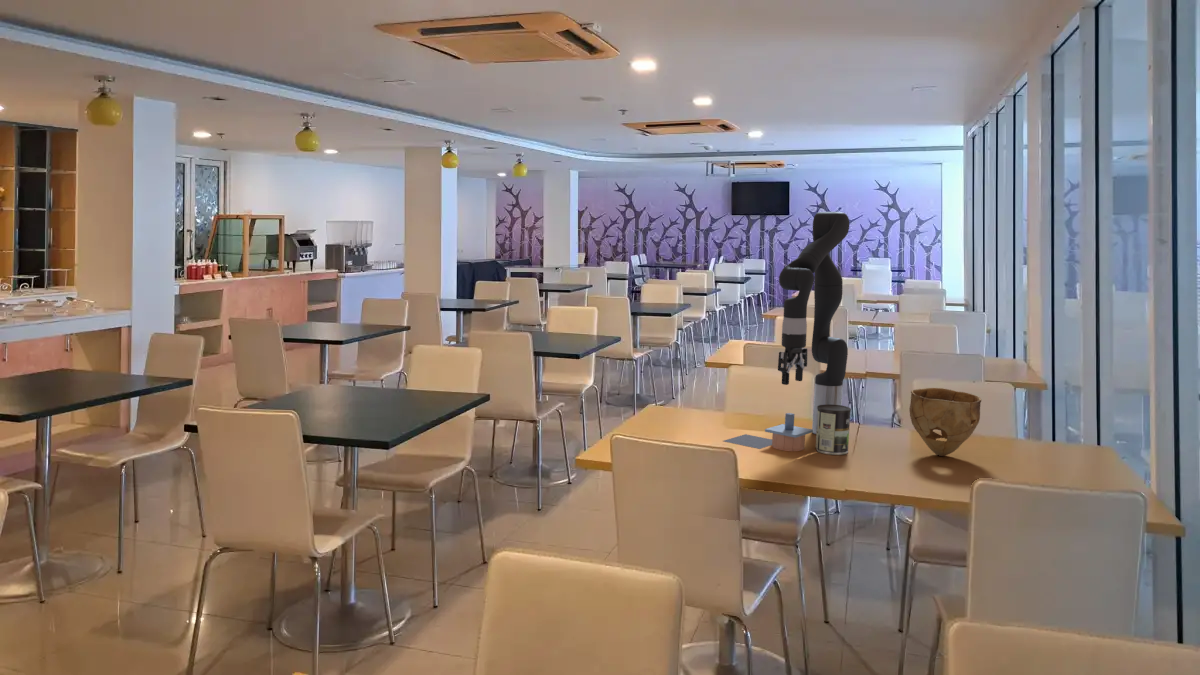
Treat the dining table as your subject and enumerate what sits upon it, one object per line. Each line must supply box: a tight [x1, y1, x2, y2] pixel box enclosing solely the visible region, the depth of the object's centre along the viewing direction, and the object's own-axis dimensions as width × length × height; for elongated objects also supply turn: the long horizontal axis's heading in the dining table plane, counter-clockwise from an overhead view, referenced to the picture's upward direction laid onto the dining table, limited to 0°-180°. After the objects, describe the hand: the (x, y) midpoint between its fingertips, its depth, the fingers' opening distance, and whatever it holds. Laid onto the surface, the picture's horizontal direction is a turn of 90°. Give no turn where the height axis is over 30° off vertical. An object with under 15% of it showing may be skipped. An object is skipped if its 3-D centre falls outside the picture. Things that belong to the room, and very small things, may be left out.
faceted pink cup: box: [771, 433, 806, 452], centre depth 296 cm, size 10×10×6 cm
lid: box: [764, 412, 813, 438], centre depth 296 cm, size 11×11×6 cm
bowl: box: [908, 387, 982, 457], centre depth 292 cm, size 21×20×20 cm
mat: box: [723, 433, 772, 450], centre depth 303 cm, size 14×14×1 cm
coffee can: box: [815, 404, 852, 456], centre depth 295 cm, size 10×10×14 cm
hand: (792, 382), depth 294 cm, fingers open, 8 cm apart
